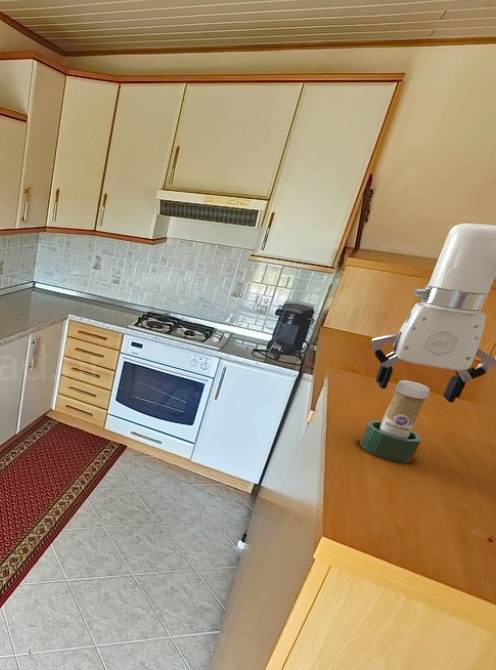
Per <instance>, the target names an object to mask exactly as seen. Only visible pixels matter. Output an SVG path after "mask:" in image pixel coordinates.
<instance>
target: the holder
mask: <svg viewBox="0 0 496 670" xmlns="http://www.w3.org/2000/svg"><path fill="white" fill-rule="evenodd" d="M381 423H382V420H369V421H368V422H367V423H366V426H365V429H364V431H363V433H362V435H361V438H360V440H359V446H360V447H361V448H362V449H363V450H364V451H366V452H367V453H369V454H372V455H374V456H376V457H378V458H381V459H384V460H387V461H391V462H394V463H401V464H406V463H411V462H412V461H413V459H414V457H415V455H416V453H417V450H418V449H419V447H420V444H421V442H422V440H423V439H422V437H421V435H420V434H418V433H416V432H415V431H414V430H411V432H410V435H409V437H408V438H407V439H402V438H398V437H394V436H391V435H389V434H386V433H383V432H381V431H379V427H380V425H381Z"/></svg>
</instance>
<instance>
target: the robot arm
mask: <svg viewBox="0 0 496 670" xmlns="http://www.w3.org/2000/svg"><path fill="white" fill-rule="evenodd" d="M444 241H445V242H444V244H443V246H442V248H441V251H440V254H439V256H438V259H437V262H436V264H435V266H434V269H433V272H432V274H431V277H430V280H429V282H428V284H427V285H425V287H424V288H415V289H414V292H413V296H414V297H418V298H419V299H420V300H421V302H416V303H415V304H414V306H413V307H412V309H411V310H410V311H409V313H408V315H407V317H406V318H405V320H404V322H403V324H402V326H401V327H400V329H399V331H398V333H392V334H388V335H383V336H378V337H374V338H371V340H370V344H371V348H372V352H373V355H374V356H375V357H376V358H377V360H378V361H379V362H380V367H379V369H378V371H377V374H376V377H375V382H376V383H377V385H378V387H379V388H380V389H383V390H384V389H387V387H388V384H389V381H390V379H391V377H392V375H393V371H394V369H393V366H395V365H396V364H398V363H400V362H402V361H403V362H406V363H411V364H417V365H421V366H427V367H432V368H438V369H442V370H443V369H444V370H451V371H453V372H454V373H455V375H452V376H451V377H450V379H449V381H448V383H447V385H446V388H445V390H444V392H443V396H442V397H443V398H444V399H445V400H446V401H447V402H449V403H454V402H455V400H456V398H458V399H459V398H460V397H461V395H462V392H463V390H464V388H465V386H466V384H467V383H469V382H471V381H472V380H474V379H476V378H479V377H481V376H484V375H485V374H486V372H488V371H490V370H491V369H493V368H494V367H496V358H494V357H493V356H491V355H490V354H488V353H487V352H485V351H483V350H482V349H480V348H479V346H480V343H481V340H482V336H483V332H484V328H485V324H486V319H487V318H486V317H487V314H486V313H484V312H482V311H481V310H482V308H483V306H484V304H485V301H486V299H487V297H488V294H489V292H490V290H491V288H492V286H493V283H494V281H495V278H496V225H495V224H486V223H485V224H484V223H470V222H469V223H468V222H467V223H459V224H456V225H454V226H453V227H452V228H451V229H450V230H449V232H448V233H447V236H446V238H445V240H444ZM390 344H393V345H392V351H391V352H389V353H388V354H386V353H384V351H383V346H384V345H390ZM475 358H478V359H479V360H480V362H479V363H478V364H477V365H475V366H473V367H471V366H472V364H473V362H474V360H475Z"/></svg>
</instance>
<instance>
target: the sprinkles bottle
mask: <svg viewBox="0 0 496 670" xmlns="http://www.w3.org/2000/svg"><path fill="white" fill-rule="evenodd" d="M430 392H431V388H430V387H429V386H427V385H425V384H422V383H419V382H416V381H411V380H405V379H403V380H399V381H398V383H397V384H396V387H395V391H394V394H393V396H392V399H391V400H390V404H389V405H388V406H387V409H386V411H385V413H384V415H383V417H382V420H381V421H382V423H381V425H380V427H379V431H381V432H383V433H386V434H389V435H391V436H394V437H398V438H402V439H407V438H408V437H409V435H410V432H411V431H413V428H414V426H415V424H416V422H417V419H418V417H419V415H420V412H421V409H422V407H423V405H424V403H425V401H426V400H427V399H428V397H429V395H430Z"/></svg>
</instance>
